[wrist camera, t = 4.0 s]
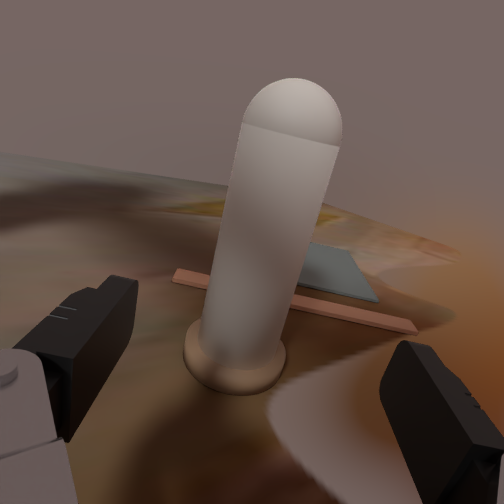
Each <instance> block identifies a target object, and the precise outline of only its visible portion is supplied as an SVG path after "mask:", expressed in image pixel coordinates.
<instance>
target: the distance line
mask: <svg viewBox="0 0 504 504" xmlns="http://www.w3.org/2000/svg"><path fill="white" fill-rule="evenodd" d="M209 279H210V275H206V274H202V273H198V272H193V271H189V270H184V269H180V268H178V269H177V271H176V272H175V274H174V276H173V278H172V282H175V283H179V284H184V285H188V286H193V287H197V288H202V289H206V290H207V288H208V283H209ZM290 308H292V309H297V310H302V311H306V312H311V313H315V314H320V315H324V316H329V317H333V318H338V319H342V320H347V321H351V322H356V323H360V324H365V325H369V326H374V327H378V328H383V329H388V330H392V331H397V332H401V333H406V334H410V335H415V336H417V335H418V333H419V332H418V330H417V329H416V328H415V326H414V325H413V323H412V322H411V321H410V320H408V319H404V318H399V317H395V316H390V315H386V314H381V313H377V312H372V311H368V310H363V309H359V308H354V307H350V306H345V305H341V304H336V303H332V302H327V301H323V300H318V299H314V298H309V297H305V296H301V295H296V294H294V295H293V298H292V301H291V304H290Z"/></svg>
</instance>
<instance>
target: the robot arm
mask: <svg viewBox="0 0 504 504" xmlns="http://www.w3.org/2000/svg"><path fill="white" fill-rule="evenodd" d="M137 295H138V281H137V280H134V279H129V278H125V277H120V276H116V275H110V276H109V277H108V278H107V279H106V280H105V281H104V282H103V283H102V284H101V285H100V286H99V287H98V288H97V289H94V288H90V287H87V288H85V289H82V290H80V291H77V292H75V293H73V294H71V295H70V296H68V297H67V298H66V299H65V300H64V301H63V302H62V303H61V304H60V305H59V307H56V308H55V309H54V310H53V311H52V312H51V313H50V315H49V316H47V317H46V318H44V319H43V320H42V321H41V322H40V323H39V324H38V325H37V326H36V327H35V328H34V329H32V330H31V331H30V332H29V333H28V334H27V335H26V336H25V337H24V338H23V339H21V340H20V341H19V342H18V343H17V344H16V345H15V346H14V347H13V348H12V349H1V350H0V504H78V501H77V496H76V492H75V487H74V482H73V478H72V473H71V469H70V464H69V460H68V455H67V451H66V446H65V443H64V442H67V443H69V442H70V440H71V438H72V437H73V435H74V433H75V432H76V430H77V428H78V427H79V425H80V423H81V422H82V420H83V418H84V417H85V415H86V413H87V412H88V410H89V408H90V407H91V405H92V403H93V402H94V400H95V398H96V397H97V395H98V393H99V392H100V390H101V389H102V387H103V385H104V384H105V382H106V380H107V379H108V377H109V375H110V374H111V372H112V370H113V369H114V367H115V365H116V364H117V362H118V360H119V359H120V357H121V355H122V354H123V352H124V350H125V349H126V347H127V345H128V343H129V340H130V338H131V335H132V331H133V326H134V319H135V311H136V303H137ZM379 392H380V400H381V402H382V405H383V407H384V410H385V412H386V415H387V417H388V420H389V422H390V424H391V427H392V429H393V432H394V434H395V437H396V439H397V442H398V444H399V447H400V449H401V451H402V454H403V456H404V459H405V461H406V463H407V466H408V469H409V471H410V473H411V476H412V478H413V481H414V483H415V485H416V488H417V491H418V493H419V495H420V498H421V500H422V503H423V504H504V437H503V436H502V435H501V433H500V432H499V431H498V429H497V428H496V427H495V425H494V424H493V423H492V421H491V420H490V418H489V417H488V416H487V415H486V413H485V412H484V411H483V410H481V409H480V405H479V404H478V402H477V401H476V400H475V398H474V397H471V393H470V392H469V391H468V389H467V388H466V386H465V385H464V384H463V383H462V381H461V380H460V379H459V378H458V377H457V376H456V375H455V374H453V373H452V372H451V371H450V370H449V369H448V368H447V367H445V366H444V364H443V363H442V361H441V360H440V359H439V357H438V356H437V354H436V353H435V352H434V350H433V349H432V348H431V347H430V346H428V345H424V344H419V343H414V342H410V341H405V340H403V341H401V342H400V343H399V344H398V345H397V347H396V350H395V352H394V354H393V356H392V358H391V360H390V362H389V364H388V366H387V369H386V371H385V373H384V375H383V377H382V380H381V383H380V390H379Z"/></svg>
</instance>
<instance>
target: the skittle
mask: <svg viewBox="0 0 504 504" xmlns="http://www.w3.org/2000/svg"><path fill="white" fill-rule="evenodd" d="M341 140H342V120H341V115H340V112H339V109H338V107H337V105H336V103H335V101H334V100H333V98H332V97H331V96H330V95H329V93H328V92H326V91H325V90H324V89H323V88H322V87H320V86H319V85H317V84H315V83H313V82H311V81H308V80H304V79H299V78H298V79H297V78H290V79H283V80H279V81H276V82H274V83H271V84H269V85H268V86H266V87H265V88H264V89H262V90H261V91H260V92H259V93H258V94H257V95H256V96H255V97H254V98H253V99H252V101H251V102H250V104H249V105H248V107H247V109H246V111H245V114H244V117H243V120H242V125H241V129H240V134H239V139H238V144H237V149H236V153H235V158H234V164H233V168H232V173H231V177H230V182H229V187H228V192H227V197H226V202H225V206H224V211H223V216H222V221H221V226H220V230H219V235H218V240H217V245H216V250H215V254H214V259H213V264H212V269H211V274H210V279H209V283H208V288H207V293H206V298H205V303H204V307H203V312H202V317H201V318H200V319H198V320H196V321H195V322H194V323H192V324H191V326H190V327H189V329H188V331H187V334H186V339H185V344H184V349H183V359H184V363H185V365H186V367H187V369H188V370H189V372H190V373H191V374H192V375H193V376H194V377H195V378H196V379H197V380H198V381H199V382H201V383H202V384H204V385H205V386H207V387H209V388H211V389H213V390H216V391H219V392H221V393H225V394H230V395H238V396H247V395H255V394H259V393H262V392H264V391H266V390H268V389H270V388H271V387H272V386H274V385H275V384H276V382H277V381H278V379H279V377H280V374H281V371H282V368H283V365H284V362H285V358H286V351H285V347H284V344H283V343H282V341H281V339H280V336H281V333H282V330H283V327H284V324H285V320H286V317H287V314H288V311H289V308H290V304H291V301H292V298H293V295H294V292H295V288H296V285H297V282H298V279H299V276H300V273H301V269H302V266H303V263H304V260H305V257H306V253H307V250H308V247H309V244H310V241H311V237H312V234H313V231H314V228H315V225H316V221H317V218H318V215H319V212H320V209H321V205H322V202H323V199H324V195H325V192H326V189H327V186H328V183H329V180H330V177H331V173H332V170H333V167H334V164H335V161H336V157H337V154H338V151H339V148H340V144H341Z"/></svg>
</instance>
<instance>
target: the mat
mask: <svg viewBox="0 0 504 504" xmlns="http://www.w3.org/2000/svg"><path fill="white" fill-rule="evenodd" d="M297 285H300V286H305V287H309V288H314V289H318V290H323V291H327V292H332V293H336V294H340V295H345V296H349V297H354V298H358V299H363V300H367V301H372V302H376V303H378V302H379V299H378V298H377V296H376V295H375V293H374V291H373V290H372V288H371V287H370V285H369V284H368V282H367V280H366V279H365V277H364V276H363V274H362V272H361V271H360V269H359V268H358V266H357V265H356V263H355V261H354V260H353V258H352V257H351V255H350V253H349V252H348V251H346V250H342V249H338V248H334V247H329V246H325V245H321V244H316V243H312V242H310V244H309V247H308V250H307V253H306V257H305V260H304V263H303V266H302V269H301V273H300V276H299V279H298V282H297Z"/></svg>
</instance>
